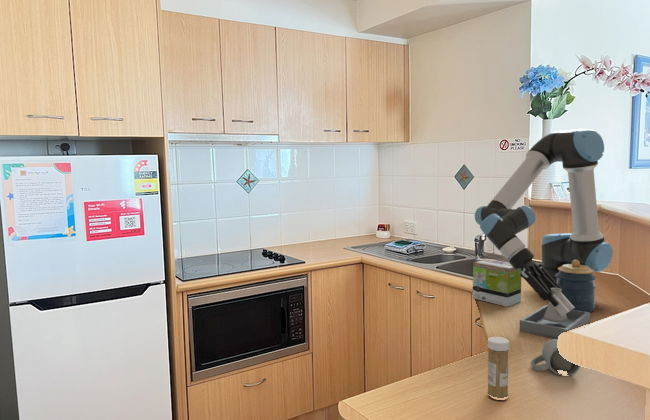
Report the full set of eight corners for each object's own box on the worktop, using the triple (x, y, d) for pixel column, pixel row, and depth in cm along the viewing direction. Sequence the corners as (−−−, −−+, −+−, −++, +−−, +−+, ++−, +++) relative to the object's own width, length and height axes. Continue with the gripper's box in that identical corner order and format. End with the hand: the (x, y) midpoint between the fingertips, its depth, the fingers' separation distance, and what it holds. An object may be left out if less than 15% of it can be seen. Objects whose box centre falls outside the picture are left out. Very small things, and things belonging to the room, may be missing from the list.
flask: (571, 318, 157) (571, 288, 156) (563, 324, 151) (564, 293, 150) (547, 314, 162) (548, 284, 161) (539, 320, 156) (540, 289, 155)
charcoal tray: (545, 314, 169) (545, 304, 169) (589, 323, 160) (590, 312, 159) (519, 331, 154) (519, 320, 153) (566, 341, 144) (567, 329, 144)
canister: (553, 302, 184) (554, 255, 183) (592, 305, 180) (593, 257, 178) (555, 311, 172) (557, 262, 171) (597, 315, 168) (599, 264, 166)
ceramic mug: (569, 363, 128) (569, 335, 128) (581, 377, 120) (581, 346, 120) (527, 363, 130) (527, 335, 129) (536, 376, 122) (536, 346, 121)
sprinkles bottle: (510, 402, 108) (511, 343, 107) (488, 401, 109) (489, 342, 108) (505, 392, 113) (506, 336, 112) (485, 391, 114) (486, 335, 112)
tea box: (471, 299, 190) (472, 261, 189) (486, 294, 197) (486, 258, 195) (507, 307, 179) (508, 267, 177) (521, 302, 185) (522, 263, 184)
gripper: (519, 256, 172) (568, 312, 162) (497, 264, 159) (549, 325, 149) (535, 243, 168) (586, 299, 158) (514, 250, 155) (568, 311, 145)
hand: (568, 311), depth 154 cm, fingers closed on flask, 4 cm apart
